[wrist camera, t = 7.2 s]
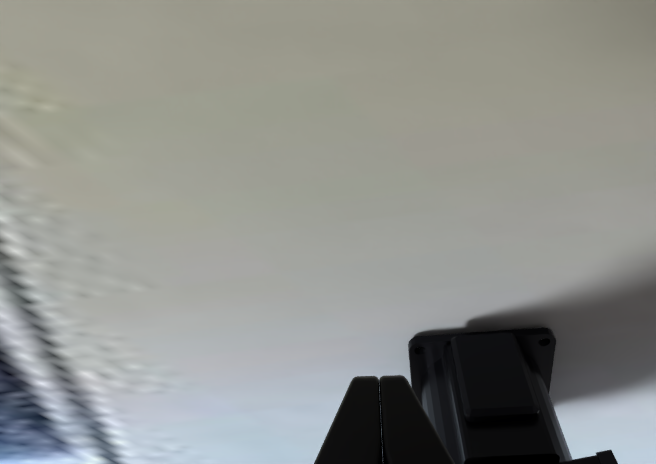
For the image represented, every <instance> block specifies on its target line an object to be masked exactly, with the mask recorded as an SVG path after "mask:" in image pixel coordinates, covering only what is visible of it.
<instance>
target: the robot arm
mask: <svg viewBox="0 0 656 464" xmlns="http://www.w3.org/2000/svg"><path fill="white" fill-rule="evenodd" d="M543 338H545V339H543ZM541 339H542V340H541ZM555 345H556V338H555V336H554V334H553V332H552V330H551V329H548V328H532V329H518V330H504V331H489V332H475V333H461V334H447V335H433V336H419V337H414V338H413V339H411V340H410V341H409V344H408V348H409V360H410V373H411V385H412V388H411V386H410V384H409V382H408V381H407V379H406V378H405V377H404V376H401V375H395V376H382V377H381V378H380V379H378V378H377V377H375V376H357V377H355V378H353V380H352V381H351V383H350V385H349V387H348V390H347V392H346V394H345V396H344V398H343V401H342V403H341V405H340V407H339V409H338V412H337V414H336V416H335V418H334V421H333V423H332V425H331V427H330V429H329V432H328V434H327V436H326V438H325V440H324V443H323V445H322V447H321V449H320V451H319V454H318V456H317V458H316V460H315V463H314V464H618V463H617V461H616V459H615V457H614V455H613V453H612V451H611V450H607V451H602V452H597V453H596V455H595V456H590V457H585V458H580V459H575V460H572V457H571V454H570V452H569V449H568V446H567V443H566V441H565V438H564V435H563V432H562V430H561V427H560V424H559V421H558V419H557V416H556V413H555V410H554V408H553V405H552V402H551V399H550V397H549V388H550V381H551V373H552V366H553V359H554V352H555ZM417 347H422V348H417ZM379 387H380V393H379ZM380 408H381V413H380ZM381 428H382V434H381ZM382 449H383V455H382Z"/></svg>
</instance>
